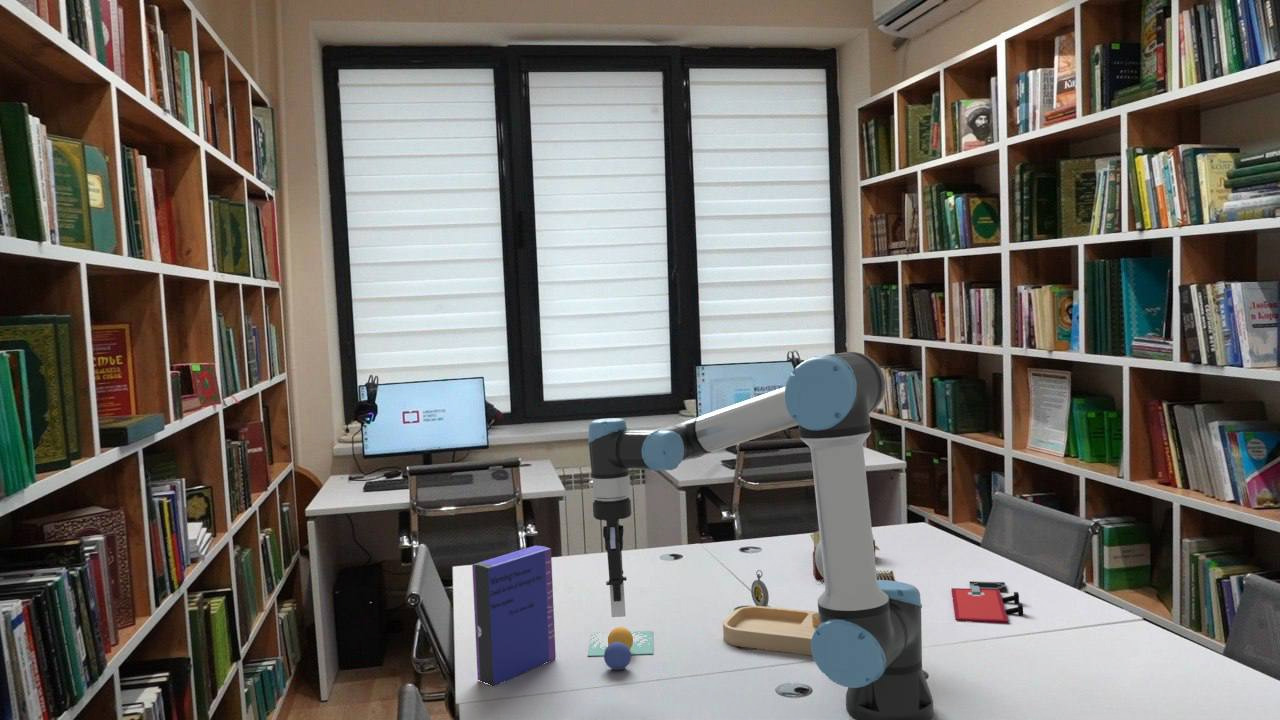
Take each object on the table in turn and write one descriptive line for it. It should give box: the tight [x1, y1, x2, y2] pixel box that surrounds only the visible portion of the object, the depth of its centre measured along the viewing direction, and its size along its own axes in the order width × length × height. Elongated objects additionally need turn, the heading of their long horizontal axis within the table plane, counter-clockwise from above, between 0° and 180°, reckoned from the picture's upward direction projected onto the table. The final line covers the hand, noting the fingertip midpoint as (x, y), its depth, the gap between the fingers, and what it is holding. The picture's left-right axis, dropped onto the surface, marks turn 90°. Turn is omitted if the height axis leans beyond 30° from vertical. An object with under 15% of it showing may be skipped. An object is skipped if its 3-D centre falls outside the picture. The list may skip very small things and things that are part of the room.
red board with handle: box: [951, 580, 1024, 625], centre depth 222 cm, size 30×3×15 cm
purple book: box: [471, 545, 557, 687], centre depth 190 cm, size 17×5×24 cm, turn 141°
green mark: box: [587, 630, 654, 657], centre depth 203 cm, size 14×14×1 cm
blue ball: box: [603, 642, 632, 671], centre depth 189 cm, size 6×6×6 cm
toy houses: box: [809, 530, 896, 581], centre depth 248 cm, size 45×20×10 cm, turn 176°
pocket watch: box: [733, 569, 770, 611], centre depth 220 cm, size 8×8×10 cm
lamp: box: [722, 541, 876, 657], centre depth 201 cm, size 33×17×25 cm, turn 65°
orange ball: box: [608, 626, 633, 650], centre depth 198 cm, size 6×6×6 cm
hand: (618, 615), depth 182 cm, fingers closed
